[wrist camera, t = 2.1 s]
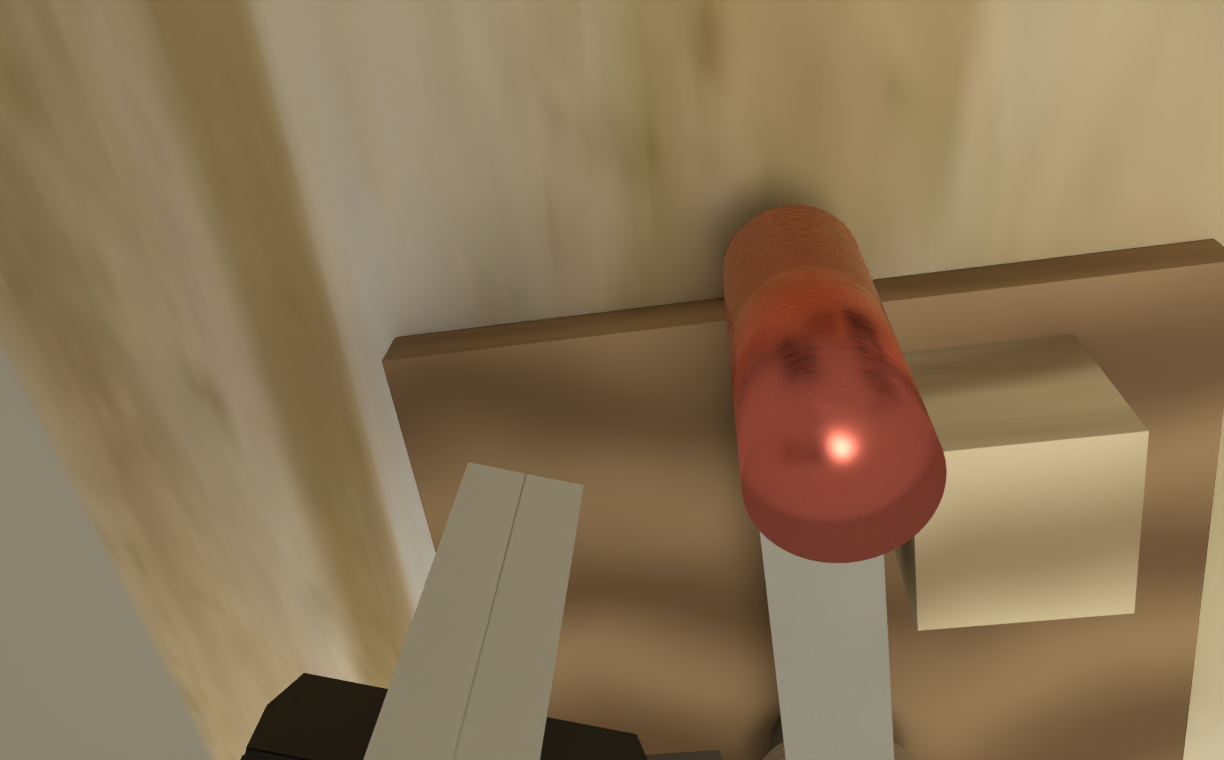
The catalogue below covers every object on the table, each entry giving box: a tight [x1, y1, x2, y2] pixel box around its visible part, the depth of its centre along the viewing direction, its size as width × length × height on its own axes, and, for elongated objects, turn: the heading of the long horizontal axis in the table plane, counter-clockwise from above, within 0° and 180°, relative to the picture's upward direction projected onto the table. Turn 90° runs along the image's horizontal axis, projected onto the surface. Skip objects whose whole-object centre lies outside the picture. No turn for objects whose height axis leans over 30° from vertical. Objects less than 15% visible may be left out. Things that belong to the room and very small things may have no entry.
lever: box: [722, 205, 947, 760], centre depth 25 cm, size 21×5×9 cm, turn 9°
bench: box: [382, 239, 1224, 760], centre depth 30 cm, size 18×22×8 cm
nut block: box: [894, 333, 1149, 631], centre depth 27 cm, size 5×5×5 cm
